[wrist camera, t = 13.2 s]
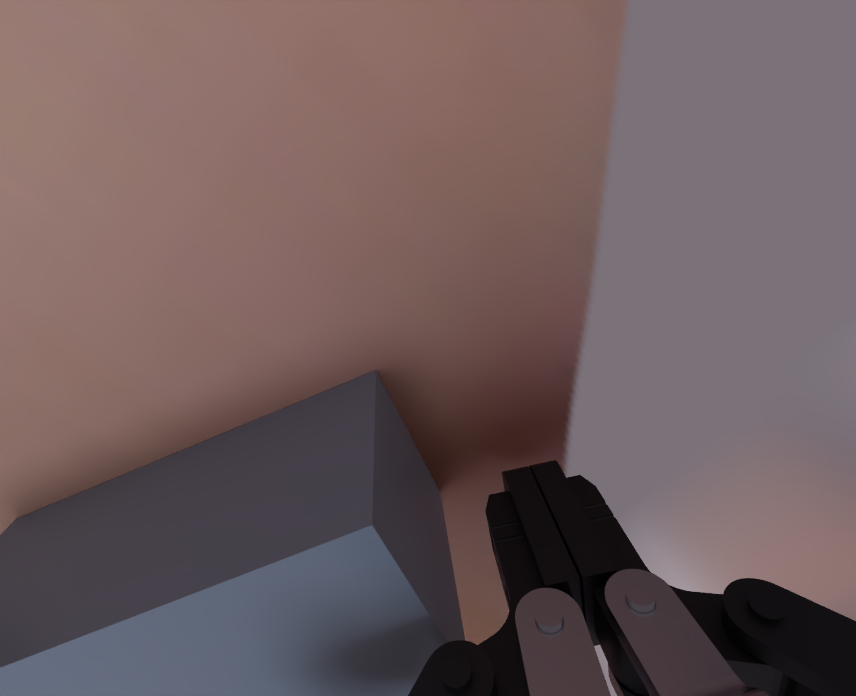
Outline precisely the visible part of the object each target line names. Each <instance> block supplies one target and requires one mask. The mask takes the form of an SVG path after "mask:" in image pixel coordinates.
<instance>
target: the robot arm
mask: <svg viewBox="0 0 856 696" xmlns="http://www.w3.org/2000/svg"><path fill="white" fill-rule="evenodd" d="M502 476H503V483H504V489H505V492H501V493H496V494H491V495H489V498H488V502H487V506H486V516H487V521H488V526H489V532H490V537H491V542H492V547H493V552H494V556H495V559H496V563H497V567H498V570H499V574H500V578H501V581H502V585H503V589H504V592H505V596H506V600H507V603H508V607H509V615H508V618H507V620H506V622H505V623H504V625H503V626H502V628H501V629H500V630H499V631H498V632H497V633H495V634H494V635H493V636H491V637H490V638H488V639H487V640H485V641H484V642H482V643H480V644H479V645H476V644H474V643H472V642H469V641H464V640H455V641H450V642H448V643H445V644H443V645H442V646H440V647H439V648H437V649H436V650H435V651H434V652H433V653H432V654H431V656H430V657H429V659H428V661H427V662H426V664H425V666H424V668H423V669H422V671H421V673H420V675H419V677H418V678H417V680H416V682H415V684H414V685H413V687H412V689H411V691H410V693H409V694H408V696H611V695H610V692H609V690H608V686H607V683H606V680H605V678H604V675H603V672H602V669H601V666H600V663H599V660H598V657H597V654H596V651H595V648H594V646H596V645H601V647H602V650H603V652H604V654H605V657H606V659H607V661H608V671H609V678H610V681H611V683H612V686H613V688H614V690H615V692H616V694H617V696H856V621H854V620H852V619H850V618H848V617H845V616H843V615H841V614H839V613H837V612H834V611H832V610H830V609H828V608H826V607H824V606H821V605H819V604H817V603H814V602H813V601H810V600H808V599H806V598H804V597H802V596H800V595H797V594H795V593H793V592H791V591H789V590H786V589H784V588H782V587H780V586H777V585H775V584H773V583H770V582H768V581H764V580H760V579H753V578H745V579H739V580H735V581H733V582H732V583H730V584H729V585H728V586H727V587H726V589H725V591H724V594H712V593H701V592H690V591H685V590H681V589H678V588H675V587H672V586H670V585H668V584H667V583H666V582H665V581H664V580H662V579H661V578H659V577H658V576H656V575H655V574H653V573H651V572H650V571H649V570H648V568H647V567H646V566H645V564H644V563H643V561H642V560H641V558H640V557H639V555H638V553H637V552H636V550H635V548H634V547H633V545H632V544H631V542H630V540H629V539H628V537H627V536H626V534H625V532H624V531H623V529H622V528H621V526H620V524H619V523H618V521H617V520H616V518H614V516H613V513H612V512H611V510H610V509H609V507H608V505H606V503H605V500H604V499H603V497H602V495H601V494H600V492H599V491H598V489H597V488H596V486H595V485H593V484H592V483H590V482H589V481H588V480H586V479H585V478H584V477H582V476H581V475H577V476H573V477H568V478H566V477H565V475H564V473H563V471H562V469H561V468H560V466H559V464H558V462H557V461H556V460H554V461H549V462H545V463H540V464H535V465H531V466H529V467H528V466H527V467H522V468H518V469H513V470H509V471H504V472H502Z"/></svg>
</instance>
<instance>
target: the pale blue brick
mask: <svg viewBox="0 0 856 696" xmlns="http://www.w3.org/2000/svg"><path fill="white" fill-rule="evenodd" d="M455 640H464V641H465V637H464V631H463V625H462V619H461V613H460V607H459V601H458V595H457V589H456V583H455V577H454V571H453V565H452V560H451V554H450V548H449V542H448V536H447V530H446V524H445V518H444V512H443V506H442V500H441V494H440V491H439V489H438V487H437V486H436V484H435V482H434V480H433V478H432V476H431V474H430V472H429V470H428V468H427V466H426V464H425V463H424V461H423V459H422V457H421V455H420V453H419V451H418V449H417V447H416V445H415V443H414V442H413V440H412V438H411V436H410V434H409V432H408V430H407V428H406V426H405V424H404V422H403V421H402V419H401V417H400V415H399V413H398V411H397V409H396V407H395V405H394V403H393V401H392V399H391V398H390V396H389V394H388V392H387V390H386V388H385V386H384V384H383V382H382V380H381V378H380V377H379V375H378V373H377V371H376V370H375V371H372V372H370V373H367V374H365V375H363V376H360V377H358V378H355V379H353V380H350V381H348V382H346V383H343V384H341V385H338V386H336V387H334V388H331V389H329V390H326V391H324V392H321V393H319V394H317V395H314V396H312V397H309V398H307V399H304V400H302V401H300V402H297V403H295V404H292V405H290V406H288V407H285V408H283V409H280V410H278V411H275V412H273V413H271V414H268V415H266V416H263V417H261V418H259V419H256V420H254V421H251V422H249V423H246V424H244V425H242V426H239V427H237V428H234V429H232V430H230V431H227V432H225V433H222V434H220V435H217V436H215V437H213V438H210V439H208V440H205V441H203V442H201V443H198V444H196V445H193V446H191V447H188V448H186V449H184V450H181V451H179V452H176V453H174V454H171V455H169V456H167V457H164V458H162V459H159V460H157V461H155V462H152V463H150V464H147V465H145V466H142V467H140V468H138V469H135V470H133V471H130V472H128V473H126V474H123V475H121V476H118V477H116V478H113V479H111V480H109V481H106V482H104V483H101V484H99V485H97V486H94V487H92V488H89V489H87V490H84V491H82V492H80V493H77V494H75V495H72V496H70V497H68V498H65V499H63V500H60V501H58V502H55V503H53V504H51V505H48V506H46V507H43V508H41V509H38V510H36V511H34V512H31V513H29V514H26V515H24V516H22V517H19V518H17V519H16V520H15V521H14V522H13V523H12V524H11V525H10V526H9V527H8V528H7V529H6V530H5V531H4V532H3V533H2V534H1V535H0V696H408V694H409V693H410V691H411V689H412V687H413V685H414V684H415V682H416V680H417V678H418V677H419V675H420V673H421V671H422V669H423V668H424V666H425V664H426V662H427V661H428V659H429V657H430V656H431V654H432V653H433V652H434V651H435V650H436V649H437V648H439V647H440V646H442V645H443V644H445V643H448V642H450V641H455Z"/></svg>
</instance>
